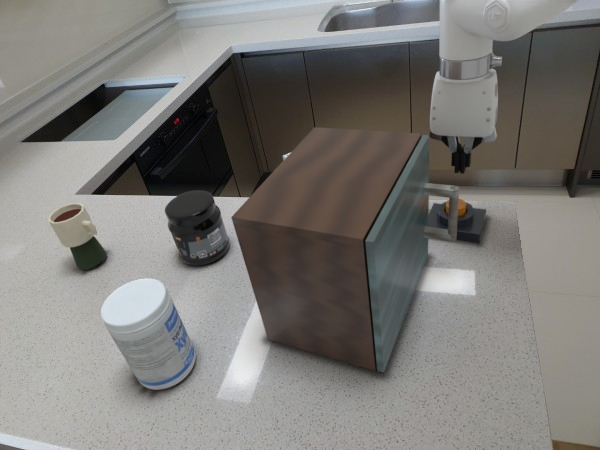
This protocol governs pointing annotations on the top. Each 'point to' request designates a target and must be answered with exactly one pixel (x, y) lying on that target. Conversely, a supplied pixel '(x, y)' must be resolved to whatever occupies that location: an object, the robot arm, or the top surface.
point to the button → (460, 207)
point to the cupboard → (321, 239)
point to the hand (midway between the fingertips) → (460, 169)
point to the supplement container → (197, 227)
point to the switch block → (459, 221)
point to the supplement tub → (149, 333)
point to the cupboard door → (403, 247)
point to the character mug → (77, 234)
